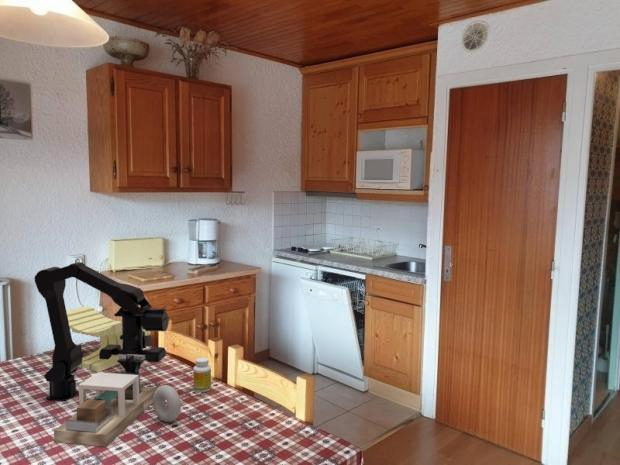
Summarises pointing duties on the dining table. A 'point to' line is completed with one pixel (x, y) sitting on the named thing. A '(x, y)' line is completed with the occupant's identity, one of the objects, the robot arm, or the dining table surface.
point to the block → (92, 411)
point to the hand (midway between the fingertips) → (133, 380)
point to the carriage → (107, 397)
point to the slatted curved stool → (97, 334)
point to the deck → (113, 425)
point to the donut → (172, 399)
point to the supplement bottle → (202, 375)
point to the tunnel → (111, 387)
